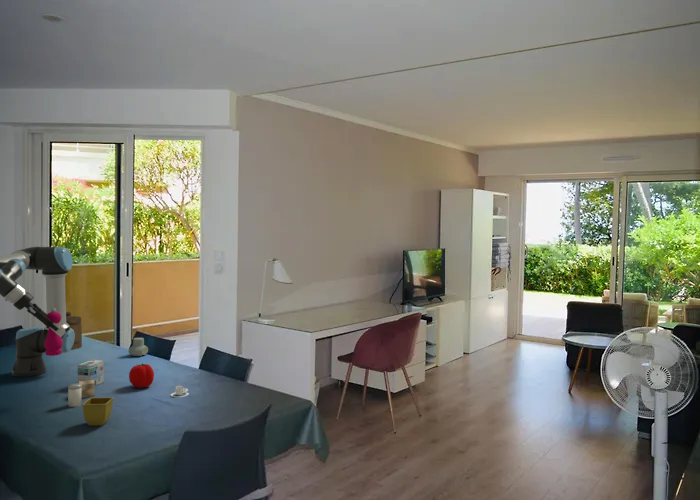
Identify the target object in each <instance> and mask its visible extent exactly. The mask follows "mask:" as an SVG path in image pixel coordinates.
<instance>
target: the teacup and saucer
mask: <svg viewBox="0 0 700 500" xmlns="http://www.w3.org/2000/svg"><path fill="white" fill-rule="evenodd" d="M188 391H189V389H188V388H184V385H177V386H176V387H175V391H174V392H172V393H170V396H171V397H172V398H173V397H174V398H184V397H187V396H189V395H190V393H189V392H188ZM183 394H185V395H183ZM175 395H176V396H175Z"/></svg>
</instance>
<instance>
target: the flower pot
mask: <svg viewBox="0 0 700 500" xmlns="http://www.w3.org/2000/svg"><path fill="white" fill-rule="evenodd" d="M113 404H114V397H89V399H87V400H86V401H84V402H83V403H81V405H82V412H83V417H84V421H85V422H86V424H87V425H88V427H89V426H93V427H94V426H97V427H98V426H99V427H100V426H103V425H105V424H106V423H107V422H108V420H109V418H110V417H111V414H112V411H113V410H112V409H113Z"/></svg>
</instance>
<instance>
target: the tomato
mask: <svg viewBox="0 0 700 500" xmlns="http://www.w3.org/2000/svg"><path fill="white" fill-rule="evenodd" d="M128 379H129V382H130V384H131V385H132V386H133V387H135V388H139V389H140V388H147V387H148V388H149V386H151V385H152V384H153V382H154V380H155V371H154V369H153V367H152V365H150V364H147V363H141V364H136V365H134V366H133V367H131V369H130V370H129V373H128Z"/></svg>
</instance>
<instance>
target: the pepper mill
mask: <svg viewBox="0 0 700 500" xmlns="http://www.w3.org/2000/svg"><path fill="white" fill-rule="evenodd" d="M51 311H52V312H50V313H48V314H47V313H46V314H47V316H46V317H47V318H49V319H50V320H51V321H52V322H53V323H55V324H56V325H58V326H60V323H59V322H60V321H61V318H62V317H61V314H60V313H58V312H56V309H55V308H53V309H52V310H51ZM62 346H63V340H62V338H61V337H60V336H59V335H58V334H56V333H55V332H54V331H53V330H51V329H50V328H48V335H47V337H46V340H45V343H44V347H45V348H46V349H47V350H46V353H44V354H45V356H49V357H50V356H51V357H52V356H53V357H54V356H59V355H62V354H63V353H62V349H60V348H61V347H62Z"/></svg>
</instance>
